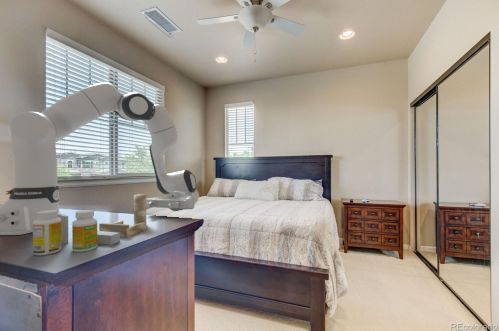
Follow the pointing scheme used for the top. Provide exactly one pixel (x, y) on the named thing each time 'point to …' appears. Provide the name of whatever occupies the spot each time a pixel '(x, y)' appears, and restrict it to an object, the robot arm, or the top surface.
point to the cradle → (122, 228)
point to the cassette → (64, 227)
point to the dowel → (139, 208)
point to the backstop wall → (107, 237)
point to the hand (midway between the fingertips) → (158, 205)
